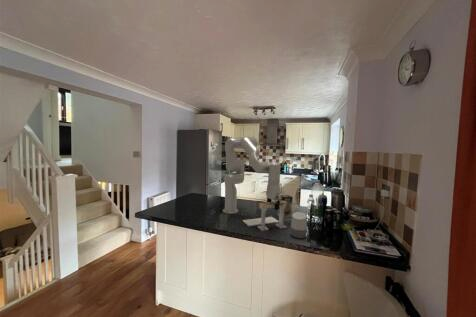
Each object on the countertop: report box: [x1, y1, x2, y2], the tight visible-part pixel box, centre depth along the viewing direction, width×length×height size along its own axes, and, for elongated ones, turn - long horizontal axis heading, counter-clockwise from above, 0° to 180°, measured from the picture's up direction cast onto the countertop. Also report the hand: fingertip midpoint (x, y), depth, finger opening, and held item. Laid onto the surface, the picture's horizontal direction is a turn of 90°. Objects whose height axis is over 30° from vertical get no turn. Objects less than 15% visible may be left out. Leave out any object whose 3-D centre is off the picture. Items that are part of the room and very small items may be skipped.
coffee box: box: [277, 194, 294, 219], centre depth 160 cm, size 9×6×16 cm
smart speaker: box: [290, 211, 308, 240], centre depth 125 cm, size 10×9×14 cm
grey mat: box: [242, 216, 279, 227], centre depth 148 cm, size 10×24×1 cm, turn 112°
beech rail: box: [257, 201, 287, 210], centre depth 137 cm, size 3×20×3 cm, turn 112°
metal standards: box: [256, 204, 288, 232], centre depth 138 cm, size 6×19×16 cm, turn 112°
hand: (272, 207), depth 137 cm, fingers open, 9 cm apart
